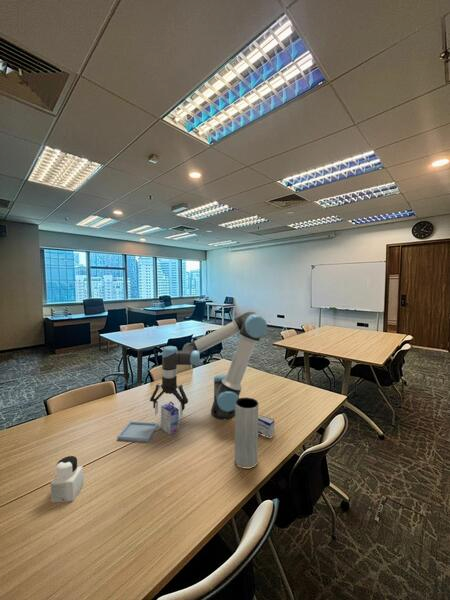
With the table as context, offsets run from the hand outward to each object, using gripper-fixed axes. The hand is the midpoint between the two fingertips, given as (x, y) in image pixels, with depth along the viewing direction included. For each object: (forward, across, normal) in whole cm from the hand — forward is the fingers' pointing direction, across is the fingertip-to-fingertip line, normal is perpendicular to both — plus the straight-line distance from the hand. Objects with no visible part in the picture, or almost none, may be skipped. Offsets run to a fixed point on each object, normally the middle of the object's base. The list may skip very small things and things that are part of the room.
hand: (168, 414), depth 135 cm
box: (+8, -52, -1) cm, 52 cm away
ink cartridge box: (+8, -1, 0) cm, 8 cm away
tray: (+8, +14, +5) cm, 17 cm away
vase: (+8, -42, +20) cm, 47 cm away
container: (+9, +24, +44) cm, 51 cm away
